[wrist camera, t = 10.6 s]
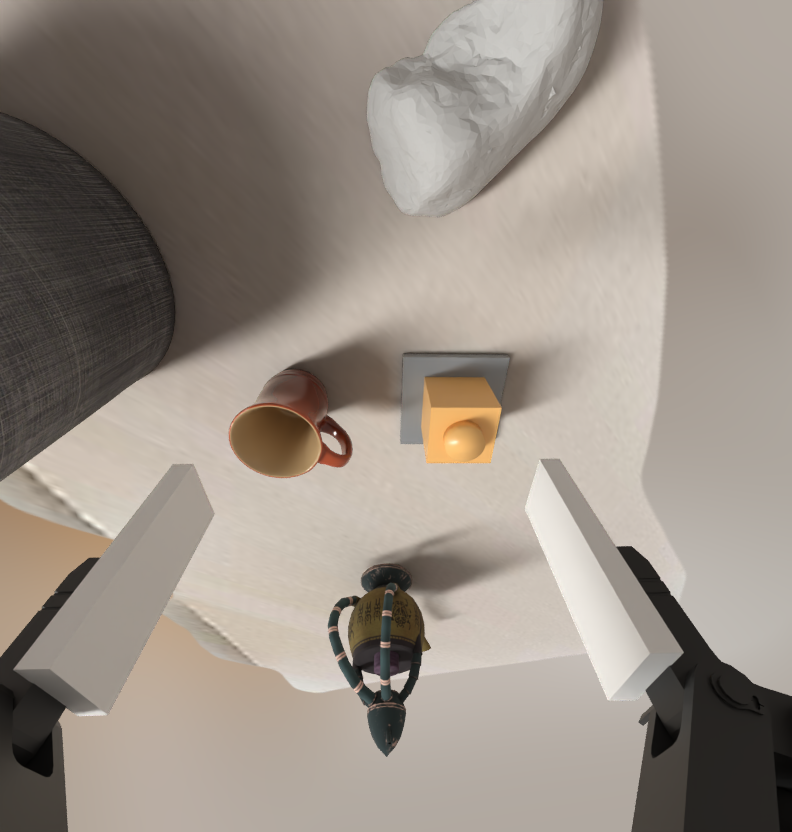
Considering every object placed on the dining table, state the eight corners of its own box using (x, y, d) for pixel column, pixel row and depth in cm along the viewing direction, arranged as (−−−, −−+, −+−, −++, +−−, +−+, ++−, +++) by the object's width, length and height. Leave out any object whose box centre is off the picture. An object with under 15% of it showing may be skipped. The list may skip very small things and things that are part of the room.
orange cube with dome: (424, 376, 40) (433, 416, 33) (484, 377, 40) (506, 416, 33) (421, 427, 44) (428, 472, 36) (476, 427, 44) (494, 472, 36)
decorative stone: (428, 255, 32) (400, 187, 22) (370, 175, 33) (319, 78, 23) (605, 110, 28) (666, -50, 18) (531, 26, 29) (550, -165, 19)
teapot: (393, 540, 56) (397, 722, 36) (451, 613, 68) (478, 781, 48) (330, 562, 59) (302, 744, 39) (396, 629, 71) (401, 794, 51)
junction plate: (403, 353, 39) (405, 376, 34) (507, 354, 40) (525, 377, 35) (400, 439, 46) (402, 469, 41) (490, 439, 46) (503, 469, 41)
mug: (252, 405, 42) (217, 458, 34) (276, 346, 39) (244, 388, 30) (340, 443, 46) (330, 500, 37) (371, 392, 42) (368, 442, 33)
